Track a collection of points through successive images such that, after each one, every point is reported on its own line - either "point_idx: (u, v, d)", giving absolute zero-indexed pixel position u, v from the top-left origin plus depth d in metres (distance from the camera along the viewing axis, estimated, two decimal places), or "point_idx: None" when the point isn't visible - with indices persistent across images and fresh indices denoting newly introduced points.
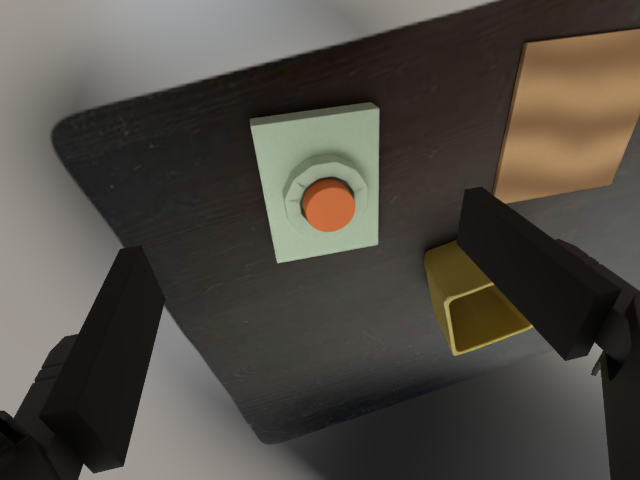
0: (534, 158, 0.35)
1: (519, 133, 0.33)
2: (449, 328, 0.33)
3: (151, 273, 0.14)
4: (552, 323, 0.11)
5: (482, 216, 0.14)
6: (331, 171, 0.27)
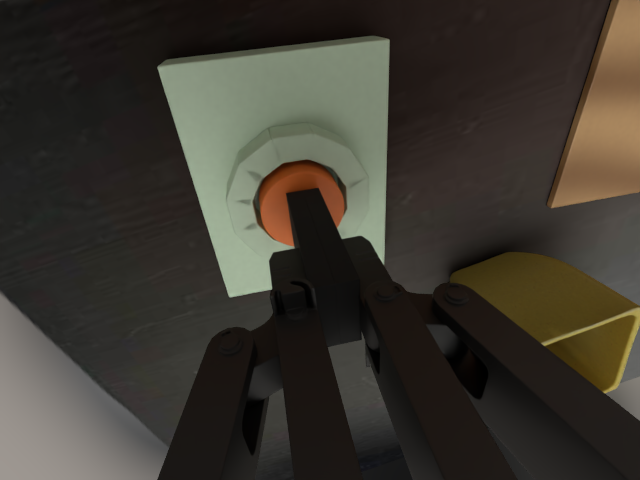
0: (620, 137, 0.23)
1: (605, 95, 0.21)
2: None
3: None
4: None
5: None
6: (305, 149, 0.16)
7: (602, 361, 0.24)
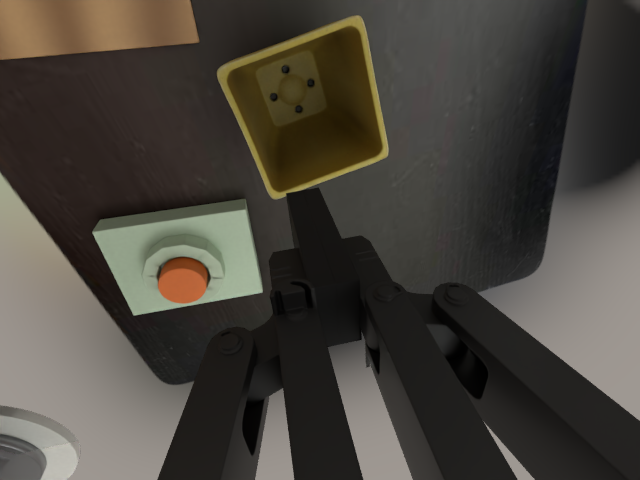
0: None
1: (81, 32, 0.24)
2: (326, 179, 0.24)
3: None
4: None
5: None
6: (151, 278, 0.31)
7: None
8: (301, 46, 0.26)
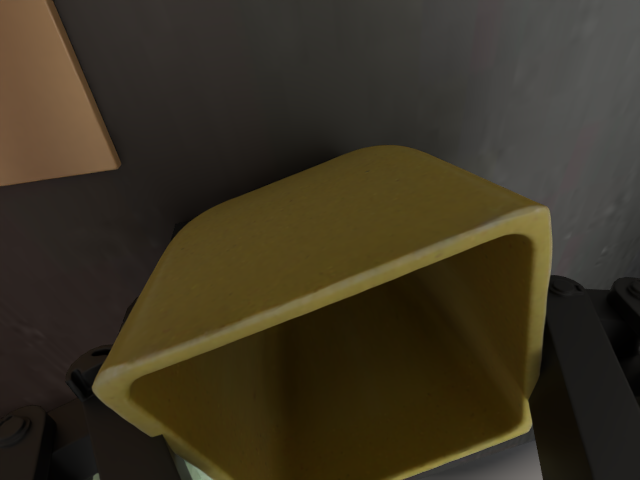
0: None
1: None
2: None
3: None
4: None
5: None
6: None
7: None
8: None
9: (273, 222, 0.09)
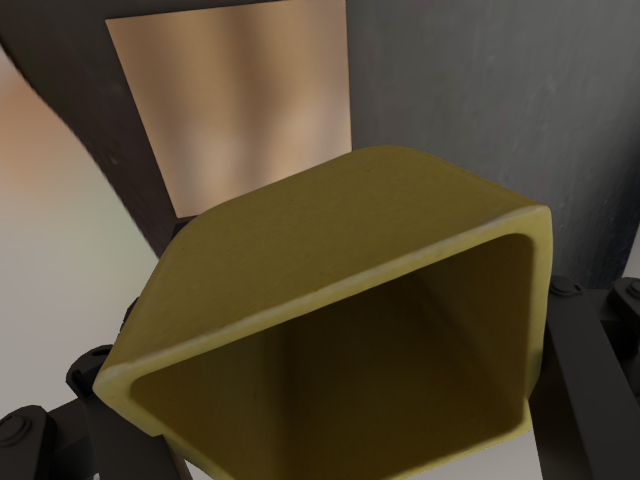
0: (295, 158, 0.28)
1: None
2: None
3: None
4: None
5: None
6: None
7: None
8: None
9: (274, 222, 0.09)
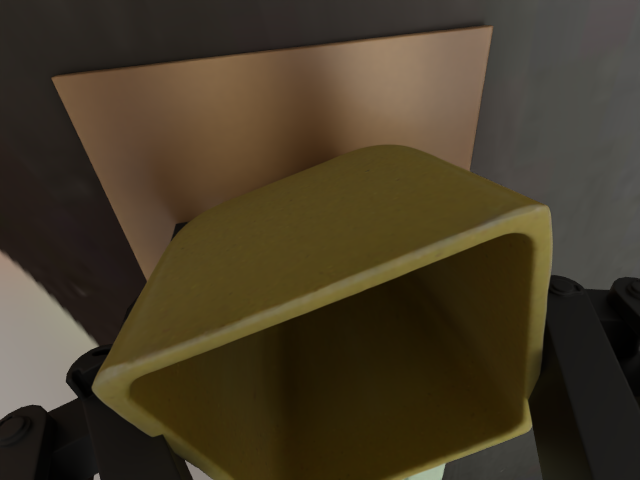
0: None
1: None
2: None
3: None
4: None
5: None
6: None
7: None
8: None
9: (273, 222, 0.09)
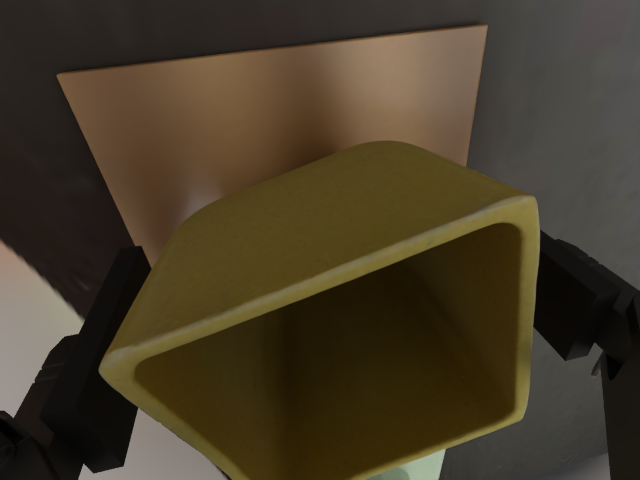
0: None
1: None
2: (388, 469, 0.11)
3: None
4: (552, 323, 0.11)
5: None
6: None
7: None
8: None
9: (272, 214, 0.09)
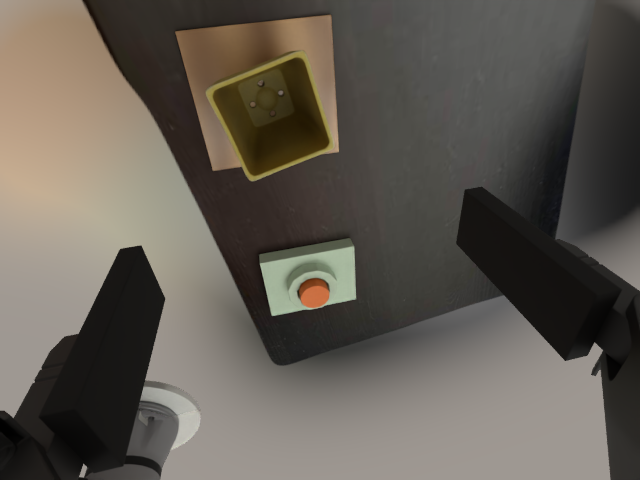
0: None
1: None
2: (289, 166, 0.33)
3: (151, 273, 0.14)
4: (552, 323, 0.11)
5: (482, 216, 0.14)
6: (293, 292, 0.48)
7: None
8: (271, 66, 0.35)
9: (247, 69, 0.31)
